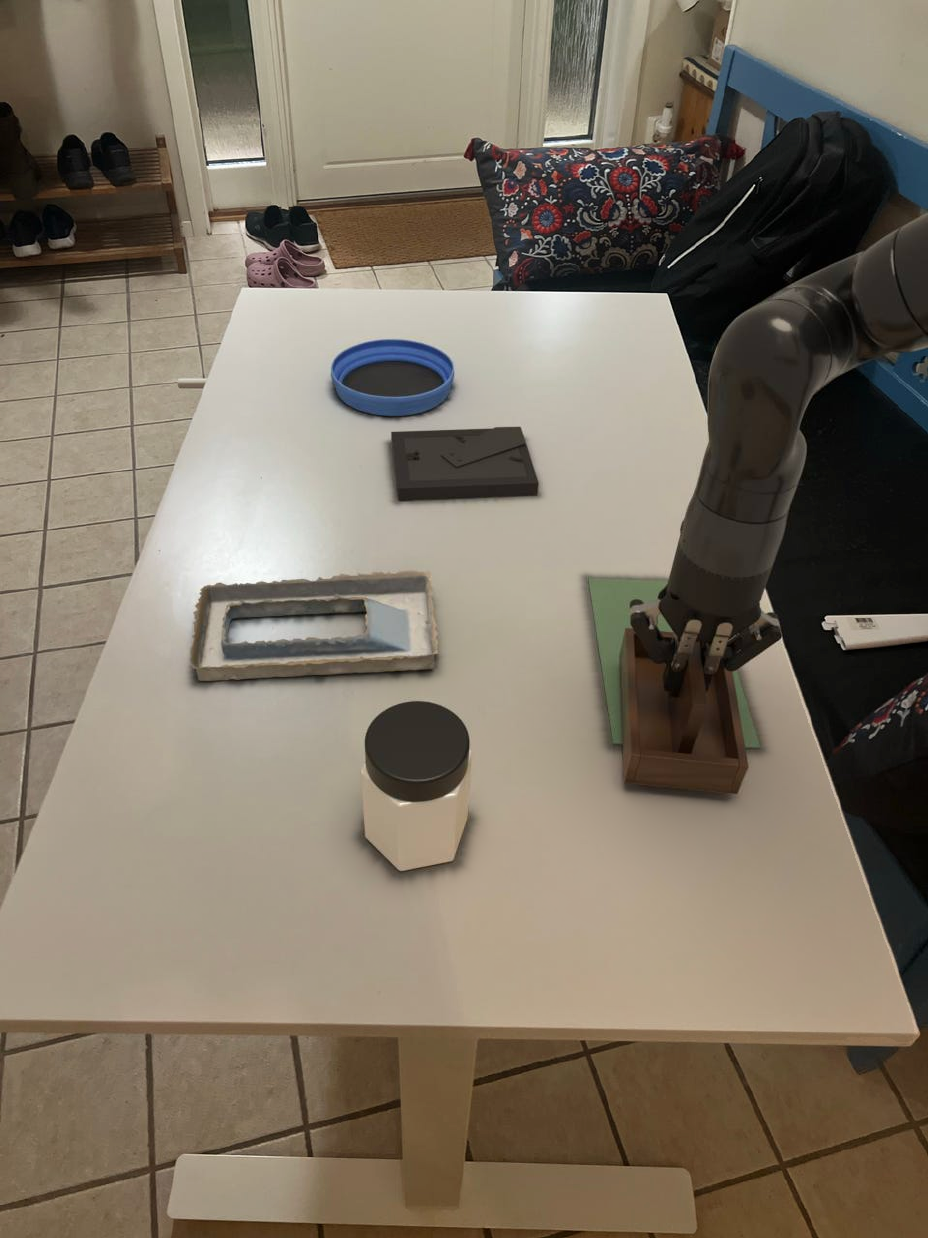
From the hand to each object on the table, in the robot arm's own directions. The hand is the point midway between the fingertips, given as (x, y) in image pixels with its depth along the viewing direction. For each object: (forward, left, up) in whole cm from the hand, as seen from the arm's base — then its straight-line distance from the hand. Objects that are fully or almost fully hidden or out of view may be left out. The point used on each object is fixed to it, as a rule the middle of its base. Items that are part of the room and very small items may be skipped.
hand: (682, 691), depth 82 cm
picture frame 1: (+29, +23, -6) cm, 38 cm away
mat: (+8, -6, -6) cm, 11 cm away
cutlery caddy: (0, 0, -4) cm, 4 cm away
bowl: (+71, -10, -6) cm, 72 cm away
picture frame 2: (+48, -7, -6) cm, 49 cm away
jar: (+4, +27, -6) cm, 27 cm away
